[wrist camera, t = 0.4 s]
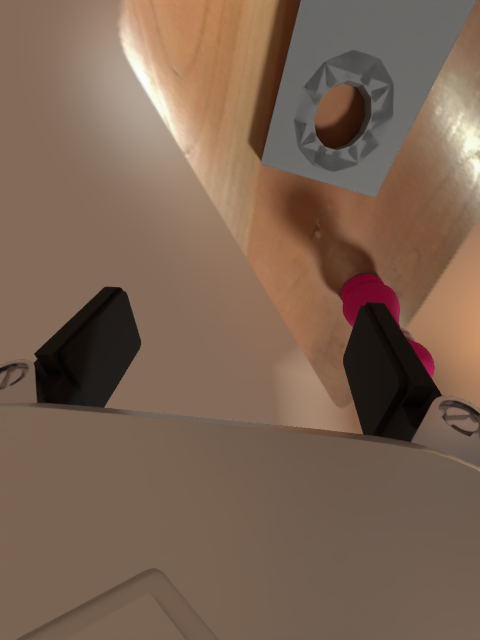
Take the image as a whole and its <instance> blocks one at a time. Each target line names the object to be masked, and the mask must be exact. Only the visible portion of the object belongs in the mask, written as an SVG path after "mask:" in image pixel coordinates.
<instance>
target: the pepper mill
mask: <svg viewBox="0 0 480 640" xmlns="http://www.w3.org/2000/svg"><path fill="white" fill-rule="evenodd" d="M341 299H342V301H343V314H344V316H345V318H346V320H347V321H348V323H349V324H350V325H351V326H352V327H353V326H354V323H355V320H356V317H357V314H358V311H359V308H360V307H361V306H362V305H365V304H366V303H367V302H378V303H384V304H385V305H386V306H387V308H388V310H389V311H390V313H391V314H392V316H393V318H394V319H395V321H396V323H397V324H398V326H399V328H400V329H401V331H402V332H403V334H404V336H405V337H406V339H407V340H408V341H409V343H410V344H411V346H412V347H413V349H414V351H415V352H416V354H417V356H418V357H419V359H420V360H421V362H422V364H423V365H424V367H425V369H426V370H427V372H428V373H429V375H430V377H431V378H432V377H433V375H434V369H435V367H434V361H433V358H432V356H431V354H430V353H429V351H428V350H427V349H426V348H425V347H423V346H422V345H421V344H419V343H417V342H416V341H415V340H414V338H413V337H412V335H411V334H410V332H408V331H407V330H405V329H403V328H401V327H400V325H399V314H400V305H399V300H398V298H397V296H396V294H395V292H394V291H393V290H392V289H391V288H390V287H388V286H387V285H384V283H383V282H382V280H381V279H380V278H379V277H377V276H375V275H372V274H361V275H357V276H355V277H353V278H351V279H350V280H348V281H347V282H346V283H345V285H344V286H343V288H342V291H341Z"/></svg>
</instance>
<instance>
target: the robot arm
mask: <svg viewBox="0 0 480 640" xmlns="http://www.w3.org/2000/svg"><path fill="white" fill-rule="evenodd" d="M140 346H141V339H140V336H139V333H138V330H137V326H136V323H135V319H134V316H133V312H132V309H131V306H130V302H129V299H128V295H127V293H126V292H125V291H123V290H122V288H120V287H104V288H103V289H102V290H101V291H100V292H99V293H98V294H97V295H96V296H95V297H94V298H93V299H92V300H90V301H89V302H88V303H87V304H86V305H85V306H84V307H83V308H82V309H81V310H80V311H79V312H78V313H77V314H76V315H75V316H74V317H73V318H71V319H70V320H69V321H68V322H67V323H66V324H65V325H64V326H63V327H62V328H61V329H60V330H59V331H58V332H57V333H56V334H55V335H53V336H52V337H51V338H50V339H49V340H48V341H47V342H46V343H45V344H44V345H43V346H42V347H41V348H40V349H39V350H38V351H37V352H36V353H35V356H36V357H37V360H36V361H35V362H34V363H33V362H32V361H30V360H26V359H19V360H14V361H9V362H6V363H4V364H1V365H0V640H480V408H479V407H477V406H475V405H474V404H472V403H470V402H468V401H466V400H464V399H461V398H458V397H454V396H442V395H441V393H440V391H439V390H438V388H437V386H436V385H435V383H434V382H433V380H432V378H431V377H430V375H429V373H428V372H427V370H426V369H425V367H424V365H423V364H422V362H421V360H420V359H419V357H418V356H417V354H416V352H415V351H414V349H413V347H412V346H411V344H410V343H409V341H408V340H407V339H406V337H405V336H404V334H403V332H402V331H401V329H400V328H399V326H398V324H397V323H396V321H395V319H394V318H393V316H392V314H391V313H390V311H389V310H388V308H387V306H386V305H385V304H384V303H378V302H367V303H366V304H365V305H362V306H361V307H360V308H359V311H358V314H357V317H356V320H355V323H354V326H353V329H352V332H351V335H350V338H349V341H348V345H347V348H346V351H345V354H344V357H343V364H344V368H345V372H346V375H347V379H348V382H349V386H350V389H351V393H352V396H353V400H354V403H355V407H356V410H357V414H358V417H359V421H360V425H361V428H362V431H363V434H354V433H346V432H338V431H329V430H320V429H311V428H302V427H292V426H283V425H272V424H264V423H253V422H244V421H235V420H225V419H214V418H205V417H194V416H184V415H175V414H164V413H154V412H144V411H133V410H121V409H112V408H104V407H105V405H106V403H107V402H108V400H109V398H110V397H111V395H112V394H113V392H114V390H115V389H116V387H117V385H118V384H119V382H120V380H121V379H122V377H123V375H124V374H125V372H126V370H127V369H128V367H129V365H130V364H131V362H132V361H133V359H134V357H135V356H136V354H137V352H138V351H139V349H140Z"/></svg>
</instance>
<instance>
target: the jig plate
mask: <svg viewBox="0 0 480 640" xmlns="http://www.w3.org/2000/svg"><path fill="white" fill-rule="evenodd" d="M475 2H476V0H301V2H300V6H299V10H298V14H297V18H296V22H295V26H294V30H293V34H292V38H291V42H290V46H289V50H288V55H287V59H286V63H285V67H284V71H283V75H282V79H281V83H280V87H279V91H278V95H277V99H276V103H275V107H274V112H273V116H272V120H271V124H270V128H269V132H268V136H267V140H266V144H265V148H264V152H263V156H262V160H261V164H262V165H265V166H269V167H272V168H276V169H279V170H282V171H286V172H289V173H293V174H296V175H300V176H303V177H307V178H310V179H314V180H317V181H321V182H324V183H327V184H331V185H334V186H338V187H341V188H345V189H348V190H352V191H355V192H359V193H362V194H365V195H369V196H372V197H376V195H377V193H378V191H379V189H380V187H381V185H382V183H383V181H384V179H385V177H386V175H387V173H388V172H389V170H390V168H391V166H392V164H393V162H394V160H395V158H396V156H397V154H398V152H399V150H400V148H401V146H402V144H403V142H404V140H405V138H406V136H407V135H408V133H409V131H410V129H411V127H412V125H413V123H414V121H415V119H416V117H417V115H418V113H419V111H420V109H421V107H422V105H423V103H424V101H425V99H426V98H427V96H428V94H429V92H430V90H431V88H432V86H433V84H434V82H435V80H436V78H437V76H438V74H439V72H440V70H441V68H442V66H443V64H444V62H445V61H446V59H447V57H448V55H449V53H450V51H451V49H452V47H453V45H454V43H455V41H456V39H457V37H458V35H459V33H460V31H461V29H462V27H463V25H464V24H465V22H466V20H467V18H468V16H469V14H470V12H471V10H472V8H473V6H474V4H475ZM343 83H344V84H347V85H350V86H353V87H356V88H357V89H358V91H359V92H360V94H361V95H362V97H363V99H364V101H365V118H364V120H363V123H362V125H361V127H360V130H359V132H358V134H357V135H356V136H355V137H354V138H353V139H352V140H351V141H350V142H349V143H348V144H347V145H344V146H340V147H337V148H334V149H332V148H329V147H325V146H324V145H323V144H322V143H321V141H320V140H319V139H318V137H317V136H316V132H315V122H314V117H315V114H316V111H317V108H318V105H319V102H320V100H321V99H322V98H323V96H324V95H325V94H326V93H327V92H328V91H329V90H330V88H332V87H335V86H338V85H340V84H343Z"/></svg>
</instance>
